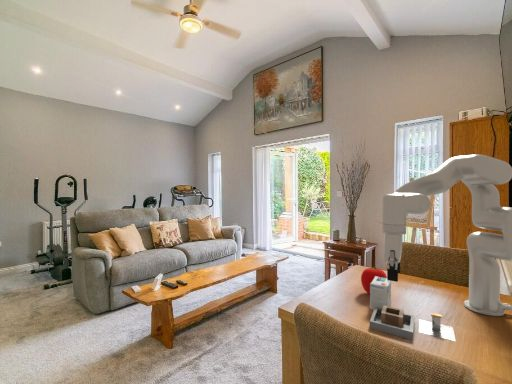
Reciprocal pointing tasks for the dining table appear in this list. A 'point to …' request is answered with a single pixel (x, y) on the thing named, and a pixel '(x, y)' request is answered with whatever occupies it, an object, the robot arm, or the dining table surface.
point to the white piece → (436, 328)
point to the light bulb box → (380, 292)
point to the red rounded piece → (370, 277)
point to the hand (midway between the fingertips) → (393, 276)
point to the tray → (401, 332)
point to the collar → (392, 316)
